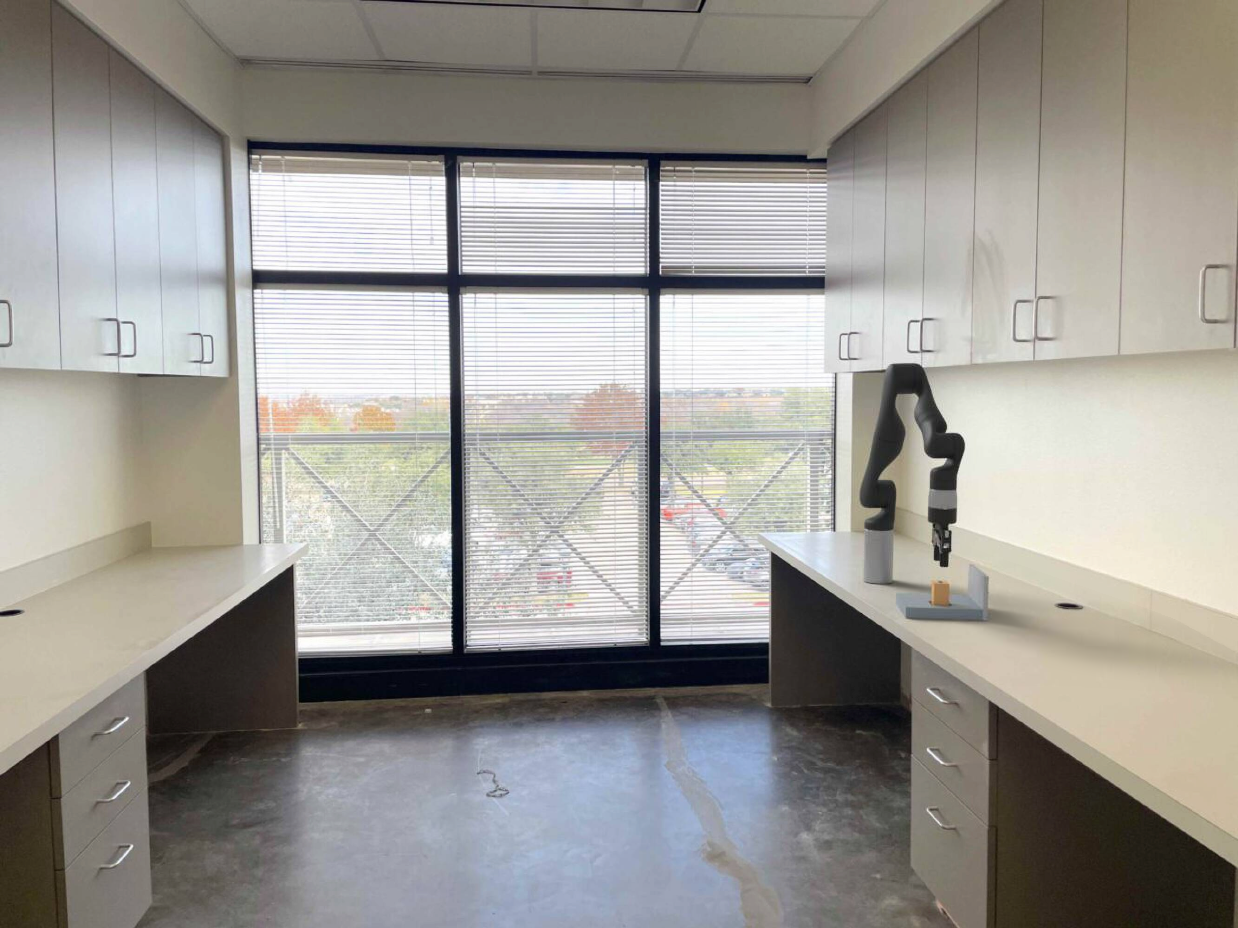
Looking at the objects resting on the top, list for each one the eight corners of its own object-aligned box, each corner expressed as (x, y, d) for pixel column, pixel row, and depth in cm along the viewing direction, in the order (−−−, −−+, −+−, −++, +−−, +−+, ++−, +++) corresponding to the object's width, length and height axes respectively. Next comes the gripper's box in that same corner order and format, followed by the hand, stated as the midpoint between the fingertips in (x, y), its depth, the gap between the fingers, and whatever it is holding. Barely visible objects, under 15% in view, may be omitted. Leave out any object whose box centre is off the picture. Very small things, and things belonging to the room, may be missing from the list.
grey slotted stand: (895, 603, 266) (896, 562, 266) (971, 605, 263) (973, 564, 262) (905, 617, 249) (906, 574, 248) (987, 620, 246) (988, 576, 245)
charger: (931, 612, 255) (931, 579, 255) (946, 612, 255) (946, 580, 254) (933, 615, 251) (934, 582, 251) (948, 616, 251) (949, 583, 250)
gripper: (923, 501, 258) (922, 558, 260) (933, 508, 244) (931, 568, 246) (951, 502, 257) (949, 559, 259) (962, 509, 243) (960, 569, 245)
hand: (940, 563), depth 252 cm, fingers open, 8 cm apart
